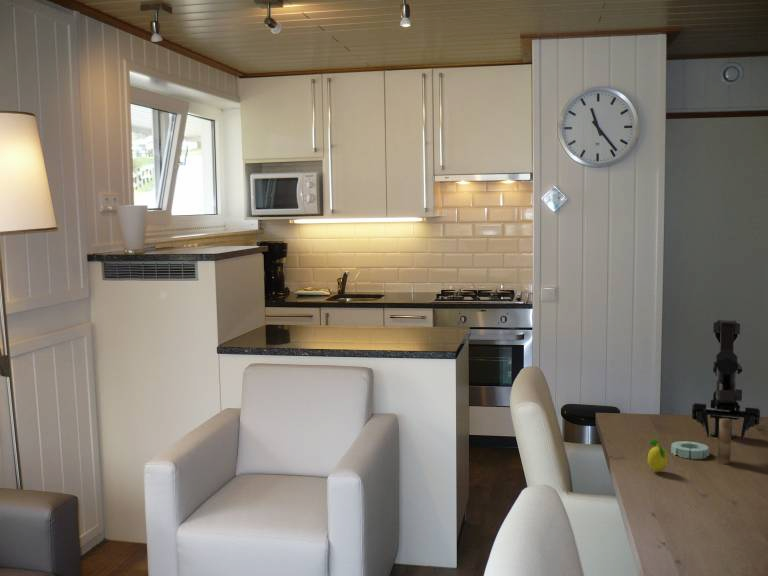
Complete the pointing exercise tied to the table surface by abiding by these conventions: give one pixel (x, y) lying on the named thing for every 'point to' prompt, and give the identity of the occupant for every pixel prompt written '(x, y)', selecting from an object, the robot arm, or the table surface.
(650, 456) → the lemon
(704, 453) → the ring
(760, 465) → the table surface
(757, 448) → the table surface
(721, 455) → the dowel
